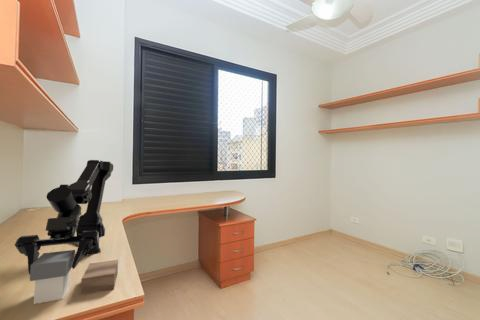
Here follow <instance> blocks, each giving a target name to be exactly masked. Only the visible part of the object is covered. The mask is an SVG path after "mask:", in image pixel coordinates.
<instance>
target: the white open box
mask: <svg viewBox="0 0 480 320" xmlns="http://www.w3.org/2000/svg"><path fill="white" fill-rule="evenodd" d="M70 279H71V270H70V271H69V272H68V274H67V275H66V276H61V277H55V278H48V279H41V280H34V292H33V293H34V294H33V295H34V296H33V305H37V304H36V303H38V304H43V302H44V303H47V302H54V301H58V300H59V301H60V300H63V298H64V297H65V295H66V293H67V292H68V290H69V288H70V282H71V280H70Z"/></svg>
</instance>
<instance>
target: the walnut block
mask: <svg viewBox="0 0 480 320" xmlns="http://www.w3.org/2000/svg"><path fill="white" fill-rule="evenodd" d="M118 269H119V259H114V260H107V261H99V262H92V263H89V264H88V266H87V268H86V270H85V272H84V274H83V275H82V278H81V282H80V283H81V284H80V285H81V286H80V287H81V288H80V296H84V295H85V296H86V295H90V294H96V293H101V292H107V291H112V290H115V287H116V284H117V283H116V281H117V278H118V277H117V276H118Z"/></svg>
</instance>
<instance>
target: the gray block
mask: <svg viewBox="0 0 480 320" xmlns="http://www.w3.org/2000/svg"><path fill="white" fill-rule="evenodd" d="M75 255H76V249H71V250H61V251H52V252H44V253H43V254H41V255H40V256H39V257H38V259H37V260H36V261H35V262H34V263H32V264H31V268H30V275H29V282H35V280H41V279H48V278H55V277H61V276H66V275H67V274H68V272H69V271H70V272H71V269H73V268H72V265H73V261H74V258H75Z"/></svg>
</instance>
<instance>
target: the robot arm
mask: <svg viewBox="0 0 480 320" xmlns="http://www.w3.org/2000/svg"><path fill="white" fill-rule="evenodd" d="M112 172H114V163H112V162H111V161H104V160H101V159H90V160H87V162H86V166H85V167H84V169H83V170H82V172H81V174H80V176H79V177H78V179H77V181H75V182H73V183H70V184H60V185H59V186H58V187H55V188H53V189H51V190H50V191H48V192H47V194H46V199H47V201H48V202H49V204H50V205H51V207H52V209H53V210H54V211H55V212H57V216H56V217H53V218H52V217H51V218H47V221H46V226H45V231H47V236H48V237H49V238H41V239H40V237H39V235H38V234H31V235H21V236H19V237H18V238H17V239H16V241H15V243H14V246H15V248H16V250H18V252H19V254H21V255H24V256H26V257H27V265H28V266H27V267H28V275H29V276H30V268H31V264H32V263H34V262H35V261H36V260H37V259H38V258H39V257H40V256H39V255H40V252H39V251H40V250H41V247H49V246H58V245H68V244H77V243H79V245H78V247H77V250H76V251H75V258H74V261H73V265H72V268H71V269H72V270H75V268H76V267H77V266H78V264H79V263H80V261H81V260H82V259H83V257H84V256H88V255H92V254H96V253H97V254H98V253H101V252H102V250H101V248H100V238H102V237H105V235H106V228H105V226H104V222H103V217H102V216H101V214H100V212H101V205H102V201H103V196H104V192H105V191H104V190H105V184H106V181H108V179H109V178H110V177H112ZM86 204H87V207H86V210H85V211H86V212H85V213H83V214H82V207H81V205H86ZM74 235H76V236H74Z"/></svg>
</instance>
